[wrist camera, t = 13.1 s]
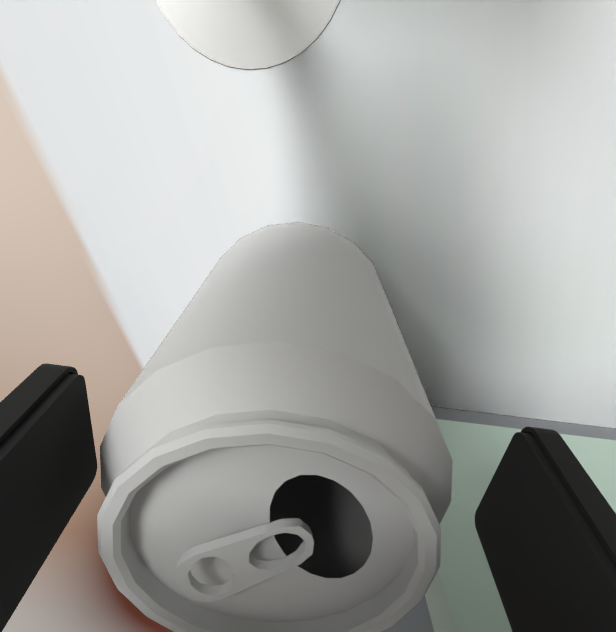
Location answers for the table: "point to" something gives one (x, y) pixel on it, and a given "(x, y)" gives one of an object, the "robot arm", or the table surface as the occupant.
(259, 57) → the champagne flute
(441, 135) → the table surface
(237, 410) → the can
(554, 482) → the robot arm
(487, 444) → the plate
